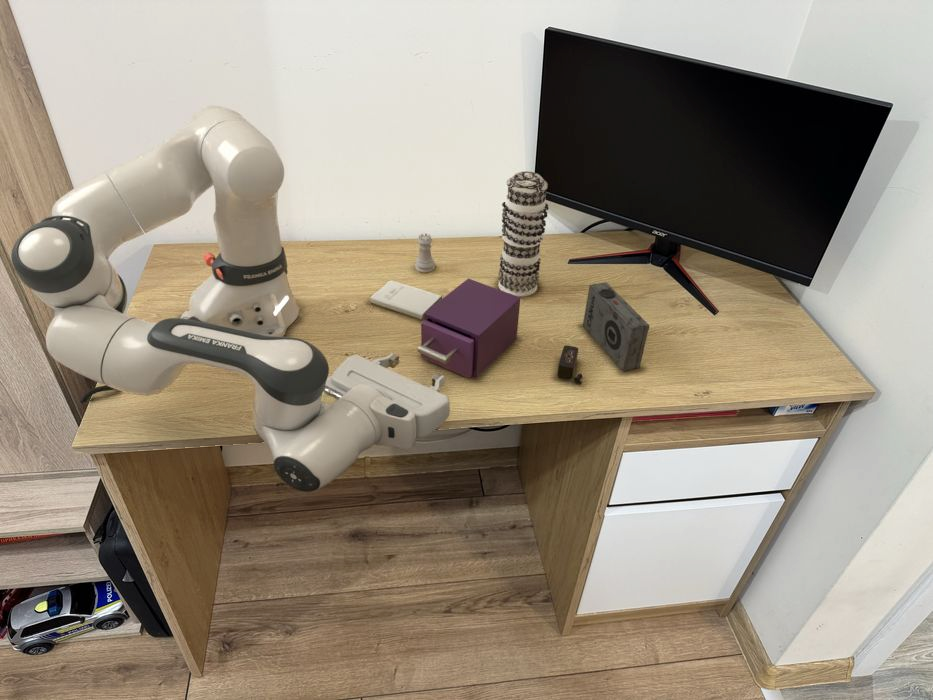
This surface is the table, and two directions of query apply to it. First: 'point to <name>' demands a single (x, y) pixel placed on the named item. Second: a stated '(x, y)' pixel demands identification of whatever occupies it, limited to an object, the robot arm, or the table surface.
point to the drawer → (447, 347)
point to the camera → (615, 326)
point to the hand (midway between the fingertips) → (418, 367)
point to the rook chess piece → (424, 255)
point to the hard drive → (405, 299)
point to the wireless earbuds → (568, 364)
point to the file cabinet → (480, 319)
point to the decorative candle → (522, 233)
